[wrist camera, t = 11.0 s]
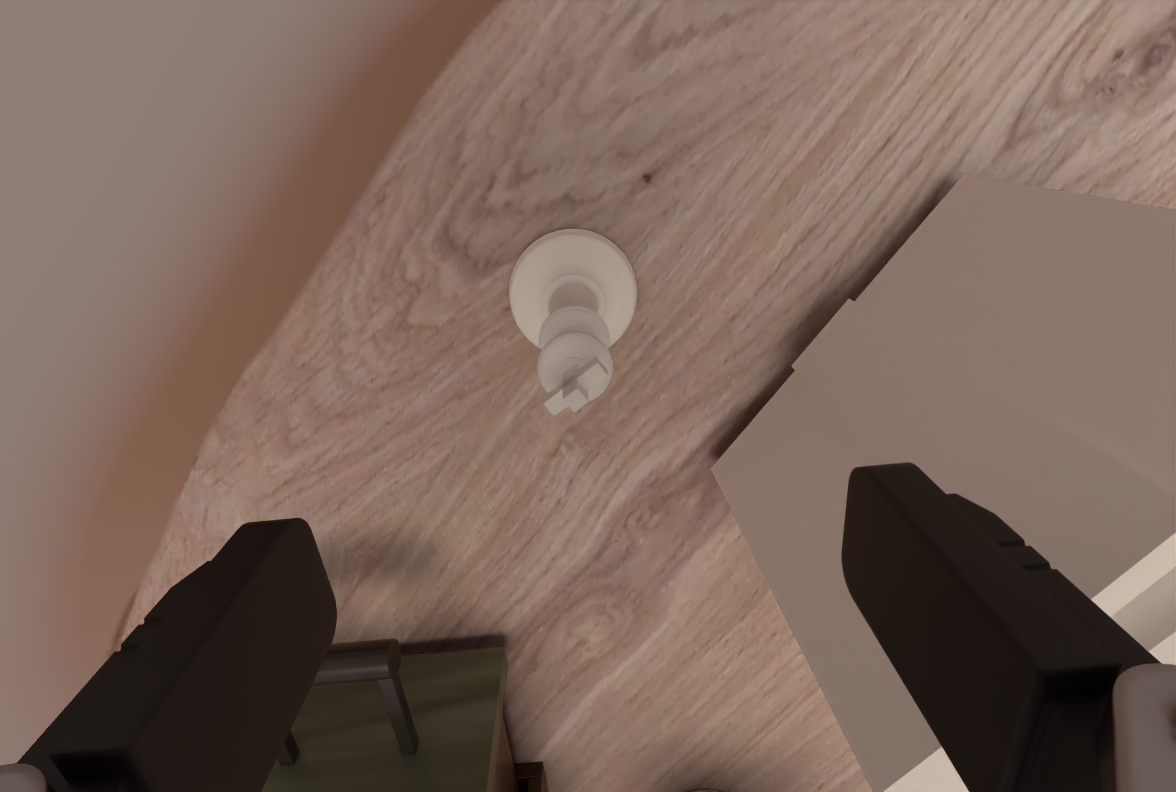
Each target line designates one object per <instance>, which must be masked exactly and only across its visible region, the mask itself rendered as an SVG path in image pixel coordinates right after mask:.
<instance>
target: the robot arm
mask: <svg viewBox="0 0 1176 792" xmlns="http://www.w3.org/2000/svg"><path fill="white" fill-rule="evenodd" d="M1024 541H1025V540H1024V539H1023V538H1022V537H1021V536H1019V535H1018V534H1017V533H1016V532H1015V531H1014V530H1013V529H1012V528H1011V527H1009V526H1008V525H1007V524H1006V523H1005V522H1004V521H1003V520H1002V519H1000V518H999V517H998V516H997V515H996V514H995V513H993V512H991V511H989V510H987V509H985V508H983V507H981V506H979V505H977V504H976V503H974V502H972V501H970V500H968V499H966V498H964V497H962V496H960V495H958V494H956V493H954V494H946V493H945V492H944V491H943V490H942V489H940V488H939V487H938V486H937V485H936V484H935V483H934V482H933V481H932V480H931V479H930V478H929V477H928V476H927V475H926V474H925V473H924V472H923V471H922V470H921V469H920V468H919V467H918V466H916V465H915V464H913V463H910V462H904V463H894V464H883V465H872V466H862V467H856V468H854V469H853V470H852V472H851V474H850V477H849V482H848V491H847V501H846V511H845V521H844V531H843V541H842V552H841V560H842V569H843V574H844V578H845V582H846V585H847V588H848V590H849V593H850V595H851V597H852V598H853V600H854V602H855V604H856V605H857V607H858V609H859V610H860V612H861V613H862V615H863V617H864V618H865V620H866V622H867V623H868V625H869V627H870V628H871V630H872V632H873V633H874V635H875V637H876V638H877V640H878V642H879V643H880V645H881V647H882V648H883V650H884V652H885V653H886V655H887V657H888V658H889V660H890V662H891V663H892V665H893V667H894V668H895V670H896V672H897V673H898V675H899V677H900V678H901V680H902V681H903V683H904V685H905V686H906V688H907V690H908V691H909V693H910V695H911V696H912V698H913V700H914V701H915V703H916V705H917V706H918V708H919V710H920V711H921V713H922V715H923V716H924V718H925V720H926V721H927V723H928V725H929V726H930V728H931V730H932V731H933V733H934V735H935V736H936V738H937V740H938V741H939V743H940V745H941V746H942V748H943V749H944V751H945V753H946V754H947V756H948V758H949V759H950V761H951V763H952V764H953V766H954V768H955V769H956V771H957V773H958V774H959V776H960V778H961V779H962V781H963V783H964V784H965V786H966V788H967V789H968V791H969V792H1176V665H1173V664H1162V663H1161V662H1160V661H1158V660H1157V659H1156V658H1155V657H1154V656H1153V655H1152V654H1151V653H1150V652H1148V651H1147V650H1146V649H1145V648H1144V647H1143V646H1142V645H1141V644H1140V643H1138V642H1137V641H1136V640H1135V639H1134V638H1133V637H1132V636H1131V635H1129V634H1128V633H1127V632H1126V631H1125V630H1124V629H1123V628H1122V627H1121V626H1119V625H1118V624H1117V623H1116V622H1115V621H1114V620H1113V619H1112V618H1111V617H1109V616H1108V615H1107V614H1106V613H1105V612H1104V611H1103V610H1102V609H1101V608H1099V607H1098V606H1097V605H1096V604H1095V603H1094V602H1093V601H1092V600H1091V599H1089V598H1088V597H1087V596H1086V595H1085V594H1084V593H1083V592H1082V591H1081V590H1079V589H1078V588H1077V587H1076V586H1075V585H1074V584H1073V583H1072V582H1071V581H1069V580H1068V579H1067V578H1066V577H1065V576H1064V575H1063V574H1062V573H1061V572H1059V571H1058V570H1057V569H1051V567H1050V563H1049V562H1048V561H1047V560H1046V559H1045V558H1044V557H1043V556H1042V555H1041V554H1039V553H1038V552H1037V551H1036V550H1035V549H1034V548H1033V547H1032V546H1026V545H1025V542H1024ZM336 621H337V609H336V601H335V597H334V594H333V591H332V588H331V585H330V582H329V580H328V577H327V574H326V571H325V568H324V565H323V562H322V559H321V556H320V553H319V551H318V548H317V545H316V542H315V539H314V536H313V533H312V531H311V528H310V526H309V525H308V523H307V522H306V521H305V520H303V519H301V518H291V519H281V520H270V521H259V522H249V523H246V524H244V525H242V526H241V527H240V528H239V529H238V530H237V531H236V532H235V533H234V535H233V536H232V537H231V538H230V539H229V540H228V542H227V543H226V544H225V545H224V546H223V548H222V549H221V550H220V551H219V552H218V553H217V555H216V556H215V557H214V558H213V559H212V561H207V562H206V563H204V564H203V565H202V566H200V567H199V568H198V569H196V570H195V571H194V572H192V573H191V574H189V575H188V576H187V577H185V578H184V579H183V580H181V581H180V582H178V583H177V584H176V585H174V586H173V587H172V588H170V590H169V591H168V592H167V593H166V594H165V595H164V596H163V598H162V599H161V600H160V601H159V602H158V603H157V604H156V605H155V607H154V608H153V609H152V610H151V611H150V612H149V613H148V615H147V616H146V617H145V618H144V624H142V625H138V626H137V627H136V628H135V629H134V630H133V632H132V633H131V634H130V635H129V636H128V637H127V638H126V640H125V641H124V642H123V643H122V644H121V650H120V651H119V652H114V653H113V654H112V655H111V657H110V658H109V659H108V660H107V661H106V662H105V663H104V665H103V666H102V667H101V668H100V669H99V670H98V671H97V672H96V674H95V675H94V676H93V677H92V678H91V679H90V680H89V682H88V683H87V684H86V685H85V686H84V687H83V688H82V690H81V691H80V692H79V693H78V694H77V695H76V696H75V697H74V699H73V700H72V701H71V702H70V703H69V704H68V706H67V707H66V708H65V709H64V710H63V711H62V712H61V714H59V716H58V717H57V718H56V719H55V720H54V721H53V722H52V724H51V725H50V726H49V727H48V728H47V729H46V730H45V731H44V733H43V734H42V735H41V736H40V737H39V738H38V739H37V741H36V742H35V743H34V744H33V745H32V746H31V747H30V749H29V750H28V751H27V752H26V753H25V754H24V755H23V756H22V758H21V759H20V760H19V761H18V762H17V763H15V764H7V765H1V766H0V792H261V791H262V789H263V787H264V785H265V783H266V781H267V779H268V777H269V774H270V772H271V770H272V768H273V766H274V764H275V762H276V760H277V757H278V755H279V753H280V751H281V749H282V747H283V745H284V743H285V740H286V738H287V736H288V734H289V732H290V730H291V728H292V726H293V724H294V721H295V719H296V717H297V715H298V713H299V711H300V709H301V707H302V704H303V702H304V700H305V698H306V696H307V694H308V692H309V690H310V687H311V685H312V683H313V681H314V679H315V677H316V675H317V673H318V670H319V668H320V666H321V664H322V662H323V660H324V658H325V656H326V654H327V651H328V649H329V647H330V645H331V643H332V640H333V637H334V633H335V629H336Z"/></svg>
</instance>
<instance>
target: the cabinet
mask: <svg viewBox="0 0 1176 792" xmlns="http://www.w3.org/2000/svg"><path fill="white" fill-rule="evenodd" d="M514 769H515V774H516V778H517V783H518V787H519V792H548V789H547V783H546V778H545V773H544V767H543V763H531V764H520V765H514Z"/></svg>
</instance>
